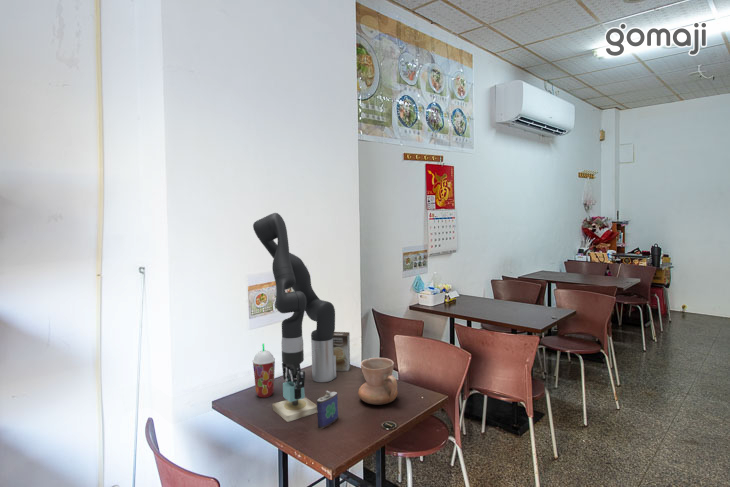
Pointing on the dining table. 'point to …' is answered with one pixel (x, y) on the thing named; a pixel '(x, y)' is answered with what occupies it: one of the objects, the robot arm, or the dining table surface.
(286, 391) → the teal hollow block
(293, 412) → the shaft stand
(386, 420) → the dining table surface
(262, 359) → the smoothie
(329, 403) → the flask
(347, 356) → the coffee box
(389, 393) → the ceramic jug
